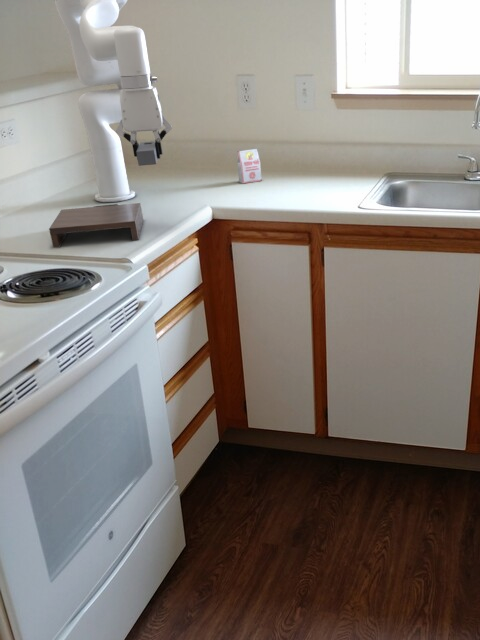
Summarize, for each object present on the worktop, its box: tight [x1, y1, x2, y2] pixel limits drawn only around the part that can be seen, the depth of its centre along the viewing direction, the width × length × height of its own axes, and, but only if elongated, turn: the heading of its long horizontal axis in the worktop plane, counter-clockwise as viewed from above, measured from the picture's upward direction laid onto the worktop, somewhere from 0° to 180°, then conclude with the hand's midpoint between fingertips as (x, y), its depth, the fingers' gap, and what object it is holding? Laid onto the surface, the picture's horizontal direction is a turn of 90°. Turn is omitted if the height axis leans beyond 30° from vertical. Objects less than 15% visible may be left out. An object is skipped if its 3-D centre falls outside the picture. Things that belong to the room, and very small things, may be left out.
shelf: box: [48, 202, 144, 248], centre depth 207 cm, size 20×22×5 cm
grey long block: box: [136, 140, 159, 167], centre depth 199 cm, size 14×4×4 cm, turn 8°
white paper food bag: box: [236, 148, 262, 185], centre depth 252 cm, size 4×7×10 cm, turn 116°
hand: (148, 157), depth 200 cm, fingers closed on grey long block, 4 cm apart
